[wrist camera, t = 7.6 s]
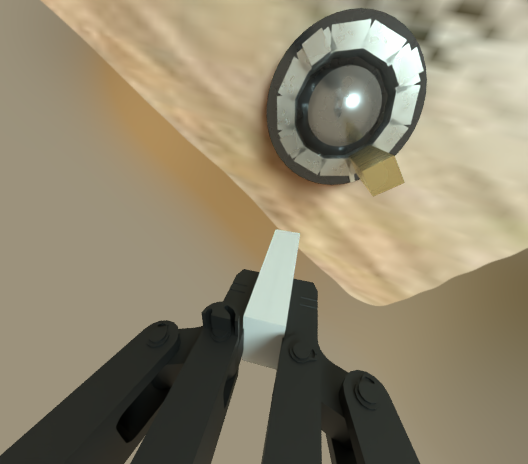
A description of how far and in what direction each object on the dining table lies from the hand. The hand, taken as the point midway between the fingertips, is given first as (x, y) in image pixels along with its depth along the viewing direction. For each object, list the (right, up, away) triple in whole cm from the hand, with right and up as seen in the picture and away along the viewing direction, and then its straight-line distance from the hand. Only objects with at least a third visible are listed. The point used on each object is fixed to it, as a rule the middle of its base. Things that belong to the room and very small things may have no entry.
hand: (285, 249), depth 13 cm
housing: (+8, +17, +14) cm, 23 cm away
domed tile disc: (+8, +16, +12) cm, 21 cm away
